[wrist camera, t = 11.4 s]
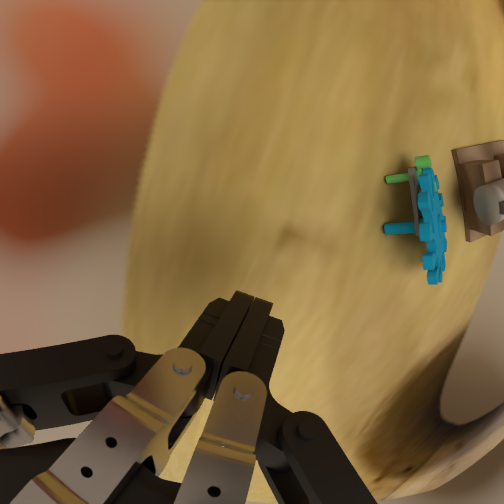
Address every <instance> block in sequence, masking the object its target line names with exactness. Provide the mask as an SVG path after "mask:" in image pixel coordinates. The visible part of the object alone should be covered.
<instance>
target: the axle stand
mask: <svg viewBox="0 0 504 504" xmlns="http://www.w3.org/2000/svg"><path fill="white" fill-rule="evenodd" d="M452 154H453V158H454V162H455V167H456V172H457V177H458V182H459V187H460V193H461V200H462V206H463V214H464V222H465V232H466V241H468V242H472V241H474V240H477V239H479V238H481V237H483V236H485V235H489V236H493V235H495V234H497V233H499V232H501V231H503V230H504V140H501V141H495V142H490V143H485V144H480V145H475V146H470V147H465V148H460V149H455V150H452Z"/></svg>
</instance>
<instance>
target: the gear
mask: <svg viewBox="0 0 504 504" xmlns="http://www.w3.org/2000/svg"><path fill="white" fill-rule="evenodd" d="M415 165H416V167H409V168H408V173H403V174H396V175H389V176H386V182H387V184H390V183H397V182H405V181H409V184H410V190H411V198H412V206H413V215H414V222H402V223H387V224H385V226H384V230H385V234H386V235H387V234H409V233H416V236H417V237H420V241H426V244H427V253H423V269H424V270H428V272H427V281H428V284H432V285H437V284H438V282H442V271H444V270H445V255H444V252H446V249H447V241H446V238H445V234H444V232H446V218H445V216H443V214H442V209H441V207H442V206H443V197H442V193H438V189H439V182H438V178H437V175H434V172H433V169H432V168H429V167H431V160H430V157H429V155H427V156H420V157H415ZM423 168H424V169H423ZM418 185H420V187H421V190H422V192H420V193H419V189H418ZM422 215H423V218H422Z"/></svg>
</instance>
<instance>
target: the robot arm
mask: <svg viewBox="0 0 504 504" xmlns="http://www.w3.org/2000/svg"><path fill="white" fill-rule="evenodd" d="M272 306H273V303H271V302H268V301H265V300H263V299H260V298H257V297H255V299H254V296H251V295H248V294H246V293H243V292H240V291H236V292H235V293H234V295H233V297H232V298H231V300H230V301H227V300H224V299H222V298H218V299H216V300H214V301H212V302H210V303H209V304H208V306H207V307H206V308H205V310H204V311H203V314H201V316H200V317H199V318H198V321H196V323H195V324H194V326H193V327H192V328H191V330H190V331H189V333H188V334H187V336H186V337H185V338H184V340H183V341H182V343H181V344H180V346H179V347H178V348H174V349H171V350H168V351H167V352H165V353H164V354H163V355H154V354H148V353H143V352H138V351H136V350H135V346H134V345H133V343H132V342H131V341H130V340H129V339H127V338H126V337H123V336H120V335H107V336H102V337H98V338H92V339H88V340H82V341H77V342H71V343H66V344H61V345H55V346H49V347H43V348H38V349H32V350H25V351H19V352H12V353H5V354H0V504H245V502H246V498H247V494H248V490H249V486H250V482H251V478H252V474H253V470H254V466H255V461H256V460H257V461H258V464H259V466H260V468H261V470H262V472H263V474H264V476H265V478H266V480H267V482H268V484H269V486H270V488H271V490H272V492H273V494H274V496H275V498H276V500H277V502H278V503H279V504H377V502H376V501H375V499H374V498H373V496H372V495H371V493H370V492H369V490H368V489H367V487H366V486H365V484H364V483H363V481H362V480H361V478H360V476H359V475H358V473H357V472H356V470H355V469H354V467H353V466H352V464H351V463H350V461H349V460H348V458H347V456H346V455H345V453H344V452H343V450H342V449H341V447H340V445H339V444H338V442H337V441H336V439H335V438H334V436H333V434H332V433H331V431H330V430H329V428H328V426H327V425H326V423H325V422H324V421H323V419H322V418H320V417H319V416H318V415H316V414H314V413H311V412H307V411H298V412H295V413H292V412H290V411H289V410H287V409H286V408H284V407H283V406H281V405H280V404H278V403H277V402H276V401H275V399H274V398H273V397H272V395H271V393H270V389H269V382H270V378H271V375H272V371H273V368H274V365H275V362H276V358H277V355H278V352H279V348H280V345H281V341H282V338H283V334H284V331H285V330H284V327H283V323H282V320H280V319H277V318H274V317H271V316H269V314H270V311H271V308H272ZM215 392H216V393H215ZM214 394H215V397H214V400H213V401H214V403H213V406H212V408H211V411H210V414H209V416H208V419H207V422H206V424H205V427H204V430H203V432H202V435H201V437H200V438H199V441H198V443H197V445H196V448H195V451H194V453H193V456H192V458H191V461H190V464H189V466H188V469H187V471H186V474H185V476H184V479H183V482H182V483H177V482H172V481H168V480H164V479H161V478H159V475H160V474H161V472H162V471H163V469H164V468H165V466H166V464H167V462H168V460H169V457H170V455H171V453H172V451H173V450H174V448H175V447H176V445H177V444H178V442H179V441H180V439H181V438H182V436H183V435H184V433H185V432H186V430H187V428H188V427H189V425H190V424H191V422H192V421H193V419H194V418H195V416H196V414H197V412H198V410H199V408H200V406H201V405H202V403H203V401H204V399H205V398H207V399H210V400H212V398H213V396H214ZM90 420H93V421H92V422H91V423H90V424H89V425H88V426H87V427H86V428H85V429H84V431H83V432H82V433H81V434H80V435H79V436H78V437H77V438H66V439H61V440H56V441H51V442H46V443H41V444H35V445H29V446H22V447H19V446H21V445H24V444H27V443H31V442H32V441H33V440H34V434H35V430H42V429H48V428H54V427H60V426H65V425H71V424H76V423H80V422H85V421H90ZM116 445H117V446H116Z"/></svg>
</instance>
